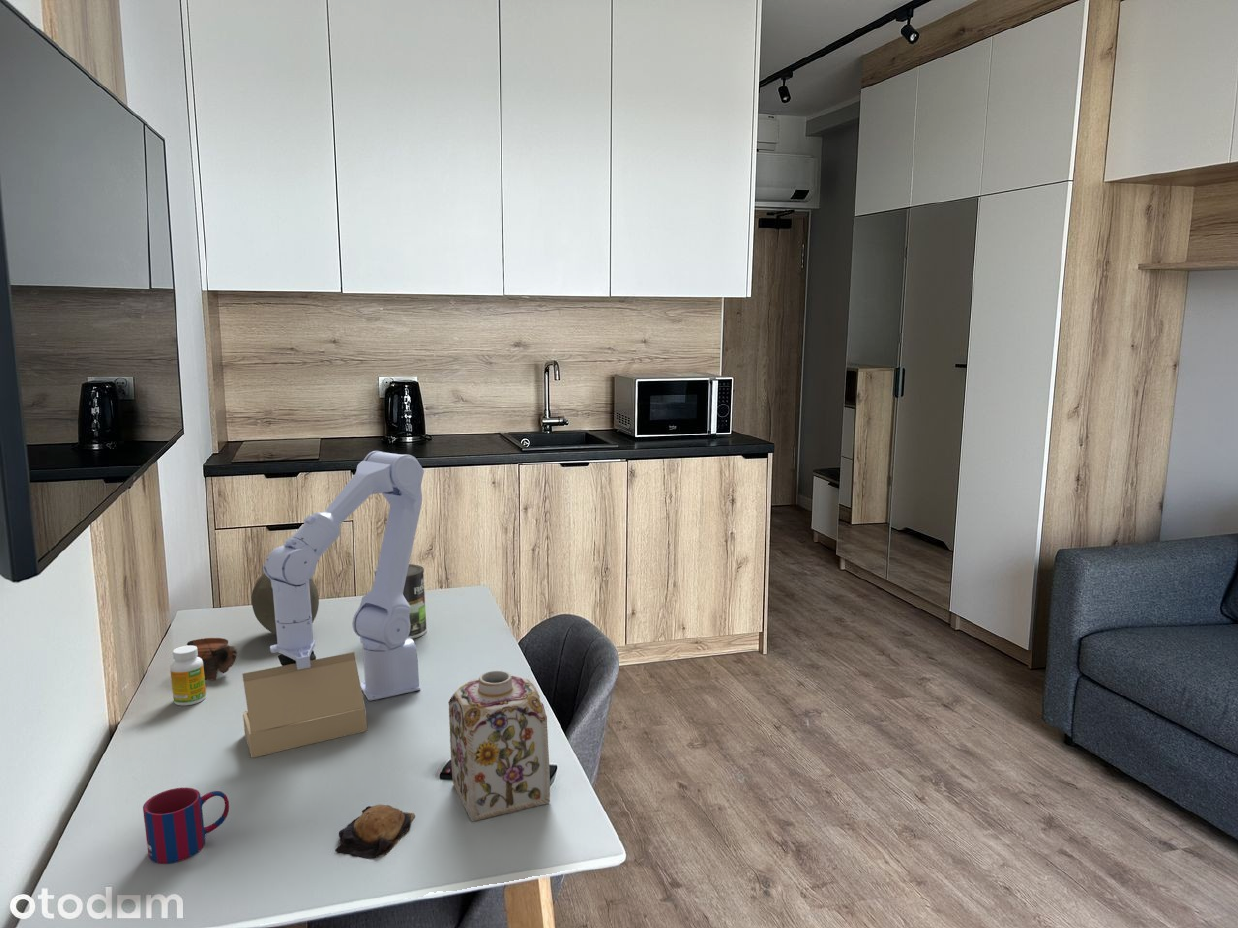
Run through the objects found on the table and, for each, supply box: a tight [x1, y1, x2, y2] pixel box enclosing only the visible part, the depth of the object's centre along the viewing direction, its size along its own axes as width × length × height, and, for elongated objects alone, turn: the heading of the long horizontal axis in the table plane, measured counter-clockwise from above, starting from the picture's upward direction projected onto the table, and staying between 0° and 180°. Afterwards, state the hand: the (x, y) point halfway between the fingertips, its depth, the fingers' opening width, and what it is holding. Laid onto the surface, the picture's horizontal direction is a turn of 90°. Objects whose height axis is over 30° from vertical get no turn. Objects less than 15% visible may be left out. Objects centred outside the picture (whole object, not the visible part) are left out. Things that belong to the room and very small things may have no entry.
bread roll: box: [335, 804, 416, 859], centre depth 120 cm, size 11×8×4 cm
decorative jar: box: [448, 670, 551, 822], centre depth 128 cm, size 12×12×18 cm
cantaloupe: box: [251, 572, 320, 635], centre depth 194 cm, size 14×14×15 cm
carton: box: [242, 707, 368, 759], centre depth 149 cm, size 18×9×4 cm, turn 119°
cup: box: [142, 787, 230, 865], centre depth 117 cm, size 7×10×7 cm
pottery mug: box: [186, 637, 238, 681], centre depth 175 cm, size 12×10×8 cm
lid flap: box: [242, 651, 366, 733], centre depth 146 cm, size 18×10×1 cm
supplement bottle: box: [169, 645, 207, 707], centre depth 162 cm, size 5×5×10 cm
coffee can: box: [374, 563, 428, 640], centre depth 194 cm, size 10×10×14 cm
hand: (299, 694), depth 151 cm, fingers closed
